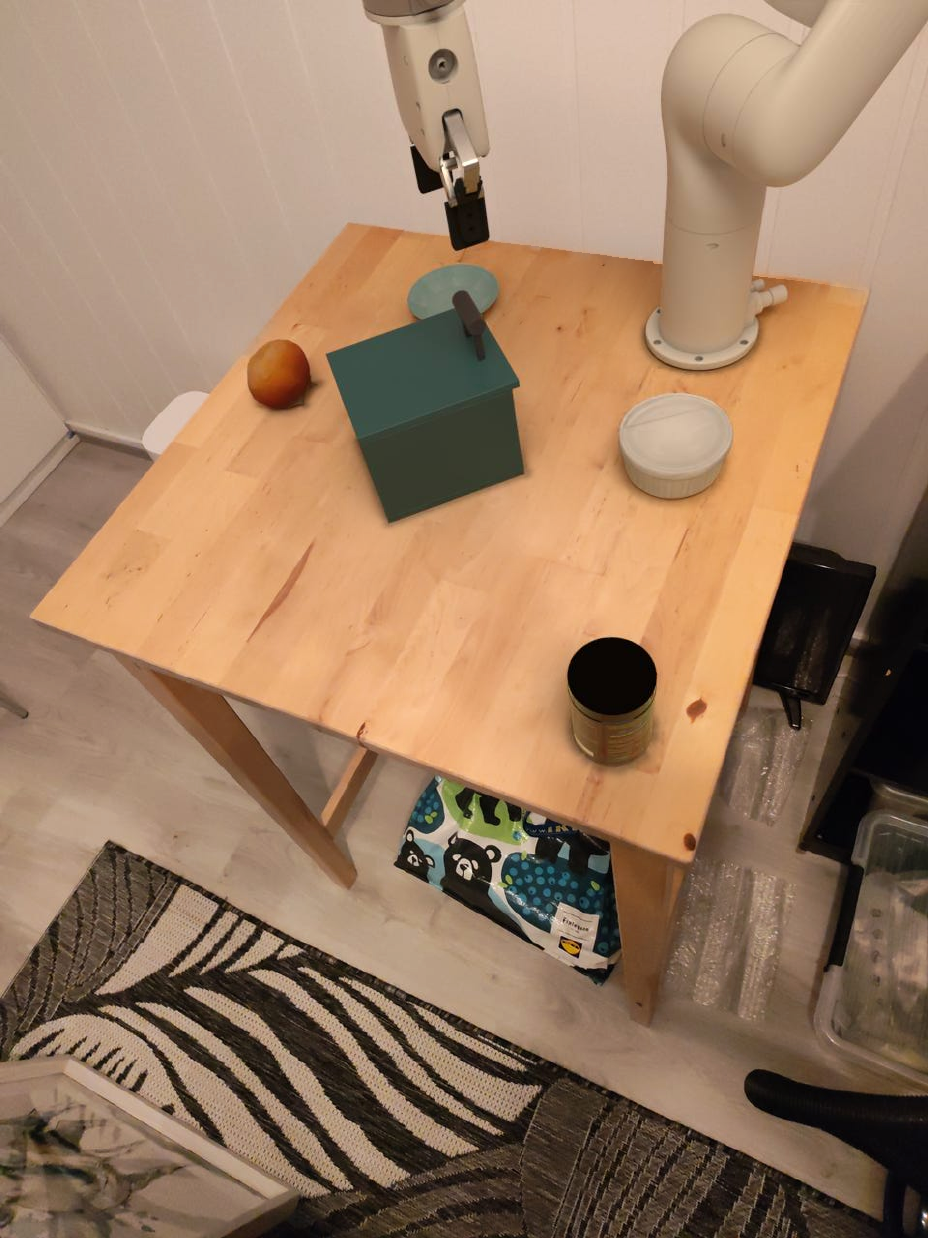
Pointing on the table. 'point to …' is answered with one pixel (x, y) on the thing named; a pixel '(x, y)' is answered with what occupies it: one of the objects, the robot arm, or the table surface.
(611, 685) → the supplement container
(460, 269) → the saucer
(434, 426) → the box
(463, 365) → the lid
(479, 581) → the table surface
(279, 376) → the fruit
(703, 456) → the ramekin
